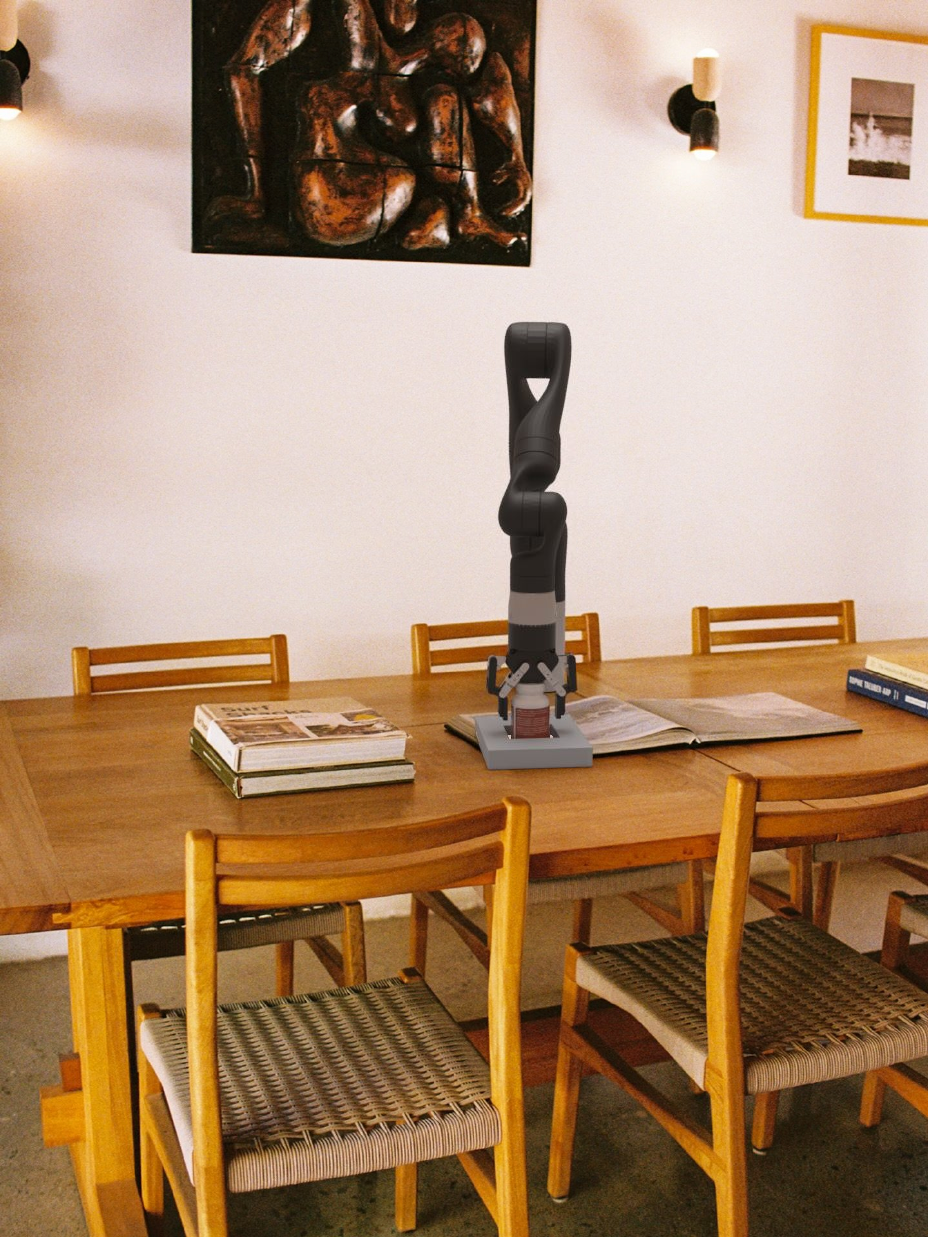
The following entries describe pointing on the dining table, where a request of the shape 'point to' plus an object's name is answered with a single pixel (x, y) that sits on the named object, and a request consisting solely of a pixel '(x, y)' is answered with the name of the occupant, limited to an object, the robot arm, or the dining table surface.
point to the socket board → (533, 745)
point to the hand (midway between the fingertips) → (531, 718)
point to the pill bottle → (530, 711)
